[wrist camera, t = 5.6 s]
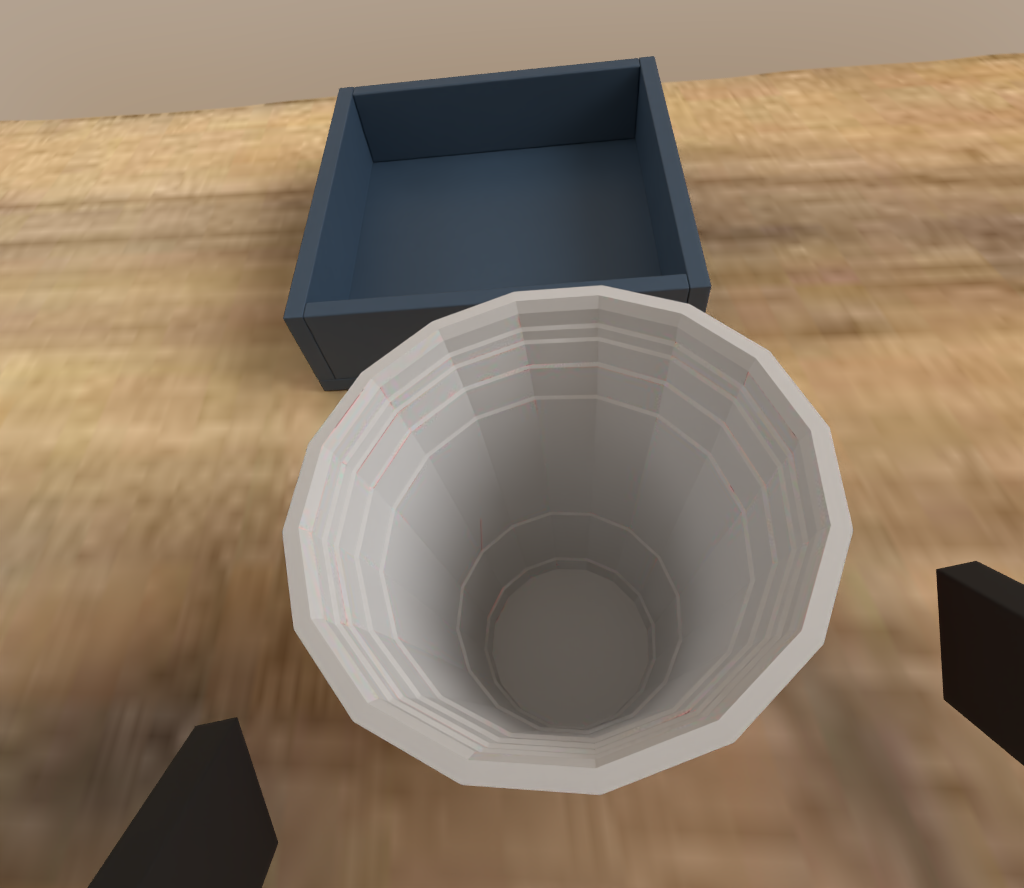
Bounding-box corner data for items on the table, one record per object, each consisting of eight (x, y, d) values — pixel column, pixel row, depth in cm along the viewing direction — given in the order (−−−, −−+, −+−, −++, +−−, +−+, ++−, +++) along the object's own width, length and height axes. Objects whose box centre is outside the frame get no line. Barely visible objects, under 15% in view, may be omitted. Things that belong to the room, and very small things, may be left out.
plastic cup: (464, 479, 26) (387, 245, 16) (739, 534, 24) (854, 301, 14) (362, 765, 21) (151, 686, 11) (704, 874, 18) (851, 906, 8)
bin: (324, 391, 29) (282, 318, 25) (365, 168, 38) (339, 87, 34) (693, 367, 28) (711, 286, 24) (646, 142, 37) (654, 55, 33)
